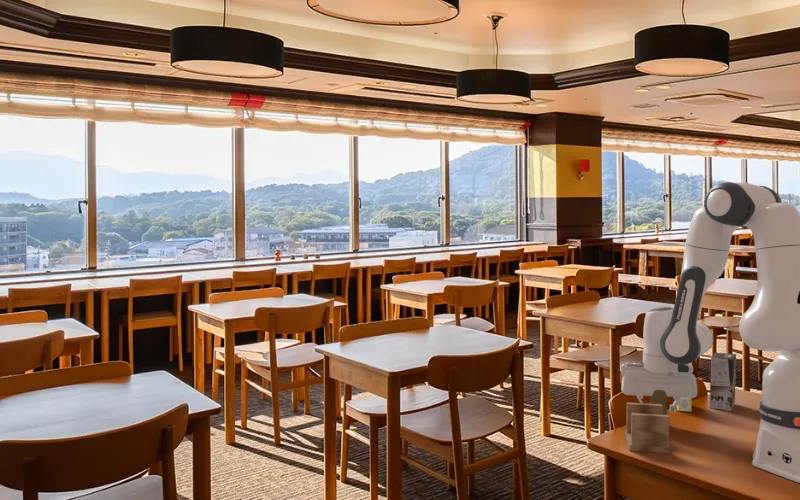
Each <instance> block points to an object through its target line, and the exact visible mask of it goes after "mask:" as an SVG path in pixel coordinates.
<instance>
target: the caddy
mask: <svg viewBox="0 0 800 500" xmlns="http://www.w3.org/2000/svg"><path fill="white" fill-rule="evenodd" d="M625 422H626V424H625V425H626V426H625V427H626V428H625V431H623V436H624V437H623V438H624V440H625V442H626V445H627V447H628V450H629V452H639V451H641V452H642V453H643V452H644V453H654V454H655V453H656V454H669V453H672V447H671V445H670V415H669V414H668V415H663V406H662V404H650V403H646V402H645V403H644V402H643V403H640V402H626V421H625ZM641 452H640V453H641Z"/></svg>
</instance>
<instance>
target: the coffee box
mask: <svg viewBox="0 0 800 500" xmlns="http://www.w3.org/2000/svg"><path fill="white" fill-rule="evenodd" d="M710 358H711V359H710V378H709V379H710V386H709V408H711V409H715V410H724V411H729V412H731V411H733V408H734V406H735V403H736V375H737V374H736V371H737V370H736V369H737V367H736V366H737V354H736V353H724V352H714V353H713V355H712V356H711V357H710Z"/></svg>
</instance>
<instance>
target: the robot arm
mask: <svg viewBox="0 0 800 500" xmlns="http://www.w3.org/2000/svg"><path fill="white" fill-rule="evenodd" d="M739 228H742V229H749V230H750V231H751V233H752V235H753V241H754V242H753V243H754V251H755V260H756V271H757V275H756V276H757V282H756V283H757V284H756V290H755V294H754V298H753V300H752V302H751V305H750V306H749V307H748V309H747V310H746V311H745V312H744V313H743V314H742V315H741V317H740V320H739V323H738V325H739V326H738V331H739V335H740V338H741V339H742V341H743V342H744V343H745V345H747V347H749V348H750V349H753V350H758V351H764V352H777V354H776V356H775V357H774V359H773V360H772V362H771V363H770V364H769V365H767V366H766V367H765V368H764V369H763V373H762V382H761V383H762V384H761V389H762V390H761V401H760V403H759V408H758V412H759V415H758V417H760V424H759V428H758V432H757V439H756V444H755V445H756V446H755V449H754V450H753V451H754V452H753V454H752V461H751V465H752V466H753V467H755V468H759V469H761V470H764V471H766V472H769V473H771V474H774V475H777V476H779V477H783V478H785V479H787V480H790V481H792V482H796V483H798V484H800V303H798V297H799V294H800V214H799V212H798V210H797V209H796V207H795V206H793V205H791V204H788V203H785V202H782V199H781V197H780V195H779V194H778V193H777V192H776V191H775V190H774V189H771V188H770V187H768V186H764V185H757V184H753V183H749V182H733V181H732V182H731V181H727V182H721V183H719V184H716V185H714V186H712V187H711V188H710V189H709V190H708V191H707V192H706V194H705V197H704V201H703V206H701V207H699V208H698V209H696V210H695V212H693V216H692V217H691V220H690V223H689V226H688V231H687V232H686V238H685V243H684V244H685V245H684V250H683V257H682V264H681V270H680V271H681V273H680V277H679V283H678V287H677V292H676V296H675V300H674V301H675V302H674V305H673V307H669V306H665V307H664V306H662V307H657V308H656V307H655V308H652V309H650V310H648V311H647V312H646V313H645V316H644V320H643V321H644V322H643V323H644V324H643V333H642V335H643V336H642V338H643V343H644V346H643V348H642V362H630V361H628V362H626V363H624V364H623V365H621V367H620V374H621V377H622V378H621V386H620V387H621V392H622V393H623V394H624V395H626V396H636V397H637V400H638V401H639V402H638V403H644V402H643V399H644V396H645V397H650V396H652V395H653V392H654V391H655V390H663V391H665V392H666V396H667V398H668V397H669V398H673V399H674V401H673V403H672V404H669V409H668V411H669V412H670V413H676V412H677V405H678V404H679V402H680V397H684V398H692V399H694V398H696V397H697V396H698V384H697V378H696V375H694V374H693V372H694V366H693V364H692V365H691V364H690V363H691V362H692V363H693V362H694V361H695V360H696V359H698V358H699V357H701V356H702V355H704V354H705V353H707V352H708V351H710V349H711V348H712V346H713V343H714V336H713V332H712V330H711V329H710V328H709V327H708V326H707V325H706V324H705V323H703V322H701V321H699V315H700V312H701V308H702V302H703V298H704V296H705V294H706V292H707V290H708V289H710V287H711V286H712V284H713V283H715V281H717V280H718V279H719V277H721V276H722V274H723V273H724V270H725V268H726V265H727V262H728V259H729V255H730V254H729V253H730V248H731V242H732V237H733V233H734V232H735V231H736V230H738V229H739Z"/></svg>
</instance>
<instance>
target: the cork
mask: <svg viewBox="0 0 800 500" xmlns="http://www.w3.org/2000/svg"><path fill="white" fill-rule="evenodd" d="M649 398H650V401H649V404H662V406H663V415H669V414H668V406H667V399H668V397H667V396H666V392H665V391H663V390H655V391H654V392H653V395H652V396H649Z"/></svg>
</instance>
